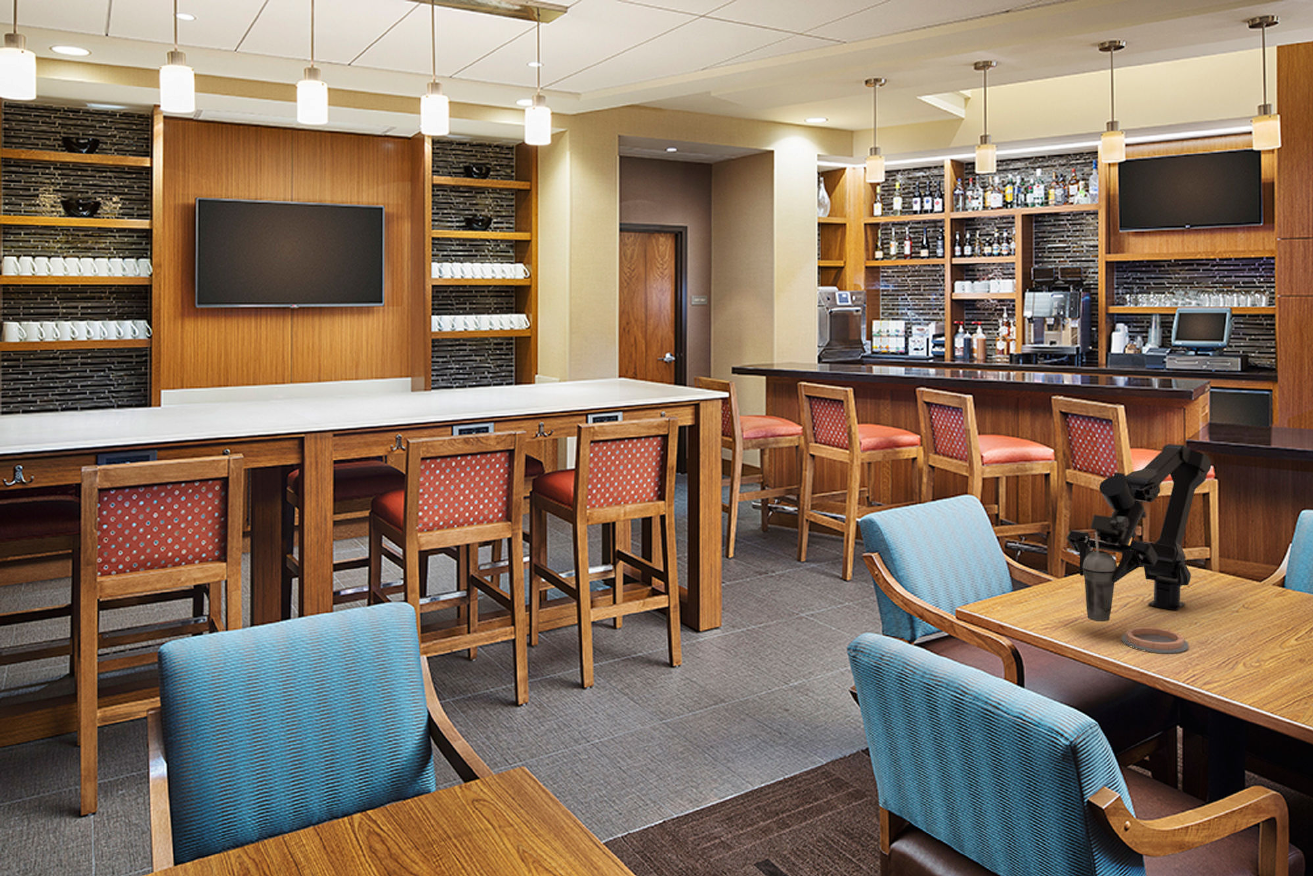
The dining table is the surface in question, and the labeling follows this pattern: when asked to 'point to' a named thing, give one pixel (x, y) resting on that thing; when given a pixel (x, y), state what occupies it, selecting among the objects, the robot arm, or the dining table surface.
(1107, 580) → the beverage cup
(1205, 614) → the dining table surface
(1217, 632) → the dining table surface
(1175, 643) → the cup holder
